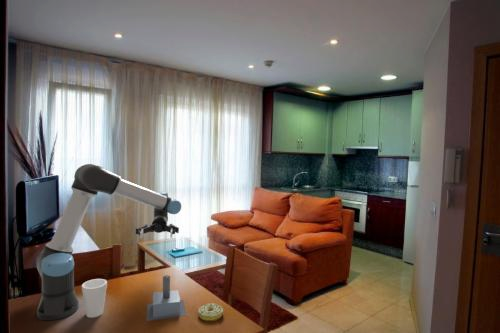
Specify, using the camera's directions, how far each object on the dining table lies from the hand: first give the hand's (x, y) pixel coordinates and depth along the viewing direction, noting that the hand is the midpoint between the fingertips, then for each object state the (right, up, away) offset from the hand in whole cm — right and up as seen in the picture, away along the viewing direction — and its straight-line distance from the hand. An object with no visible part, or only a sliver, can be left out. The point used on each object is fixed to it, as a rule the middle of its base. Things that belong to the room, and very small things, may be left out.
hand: (156, 235), depth 144 cm
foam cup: (-22, -30, -13) cm, 40 cm away
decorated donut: (+27, -32, -12) cm, 44 cm away
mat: (+7, -31, -9) cm, 33 cm away
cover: (+7, -30, -9) cm, 33 cm away
